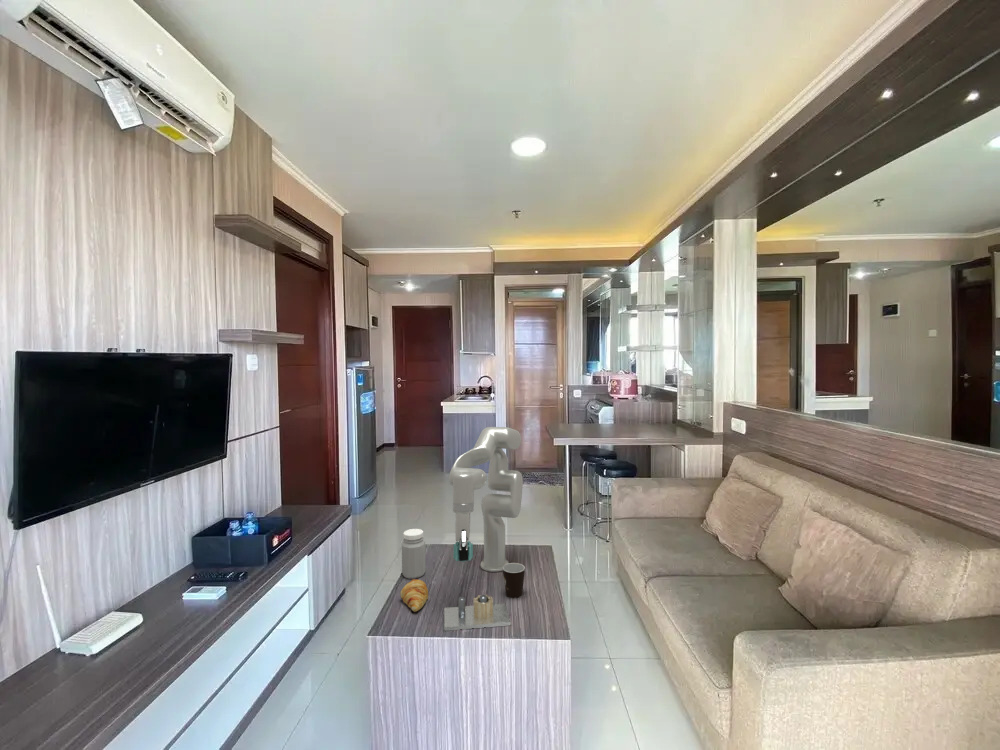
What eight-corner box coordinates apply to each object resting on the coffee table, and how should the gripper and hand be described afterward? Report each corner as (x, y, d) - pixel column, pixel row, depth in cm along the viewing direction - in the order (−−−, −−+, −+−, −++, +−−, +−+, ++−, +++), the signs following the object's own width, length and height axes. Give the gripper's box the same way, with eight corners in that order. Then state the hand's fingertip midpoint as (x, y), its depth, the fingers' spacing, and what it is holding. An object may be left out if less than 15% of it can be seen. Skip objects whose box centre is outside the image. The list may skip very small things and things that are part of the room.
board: (444, 611, 152) (444, 590, 152) (505, 606, 155) (505, 586, 155) (444, 630, 140) (444, 608, 140) (510, 625, 143) (510, 603, 143)
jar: (416, 567, 188) (416, 526, 188) (430, 574, 181) (429, 531, 181) (397, 574, 181) (397, 532, 181) (410, 582, 174) (410, 538, 174)
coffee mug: (523, 600, 159) (523, 573, 159) (500, 598, 160) (500, 571, 160) (527, 585, 170) (527, 560, 170) (506, 583, 172) (506, 559, 172)
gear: (453, 554, 158) (453, 541, 158) (472, 553, 159) (472, 540, 159) (453, 562, 151) (453, 548, 151) (473, 561, 152) (473, 547, 152)
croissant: (424, 623, 151) (434, 601, 152) (398, 613, 148) (409, 592, 149) (420, 593, 171) (429, 574, 172) (397, 584, 169) (406, 565, 170)
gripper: (452, 500, 164) (452, 547, 163) (453, 514, 146) (452, 566, 146) (472, 500, 164) (472, 547, 164) (474, 513, 147) (474, 565, 147)
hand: (463, 555), depth 155 cm, fingers closed on gear, 6 cm apart
